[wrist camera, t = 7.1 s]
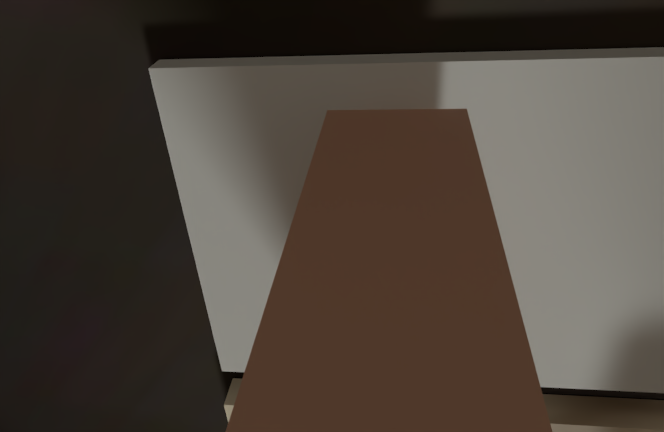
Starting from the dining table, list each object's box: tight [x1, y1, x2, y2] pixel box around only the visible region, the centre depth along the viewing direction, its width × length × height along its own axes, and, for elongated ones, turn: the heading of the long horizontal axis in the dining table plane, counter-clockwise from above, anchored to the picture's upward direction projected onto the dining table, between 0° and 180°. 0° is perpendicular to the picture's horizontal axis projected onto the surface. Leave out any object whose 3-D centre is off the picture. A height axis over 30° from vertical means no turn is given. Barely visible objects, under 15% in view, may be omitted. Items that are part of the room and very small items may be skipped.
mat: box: [148, 47, 664, 393], centre depth 13 cm, size 14×9×1 cm, turn 93°
